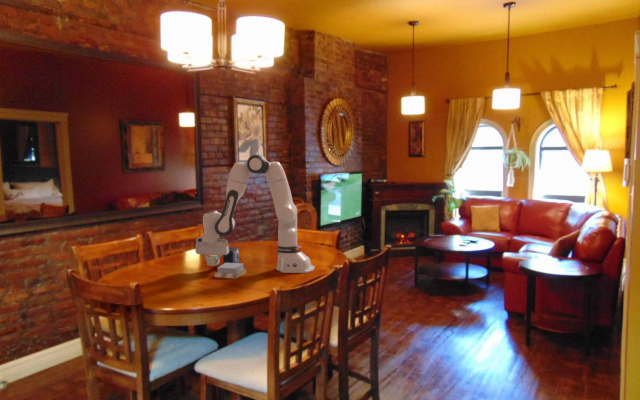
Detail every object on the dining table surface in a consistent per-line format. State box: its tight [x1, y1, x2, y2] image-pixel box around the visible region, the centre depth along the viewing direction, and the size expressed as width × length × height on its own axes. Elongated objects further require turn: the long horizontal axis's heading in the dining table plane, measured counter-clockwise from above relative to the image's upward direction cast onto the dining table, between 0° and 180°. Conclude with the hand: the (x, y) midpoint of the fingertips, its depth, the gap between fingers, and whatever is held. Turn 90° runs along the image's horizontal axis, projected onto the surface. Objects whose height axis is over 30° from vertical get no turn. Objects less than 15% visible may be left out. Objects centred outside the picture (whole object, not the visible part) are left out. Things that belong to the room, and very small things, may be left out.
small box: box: [222, 246, 240, 264], centre depth 279 cm, size 11×6×10 cm, turn 168°
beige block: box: [206, 254, 220, 267], centre depth 267 cm, size 5×5×5 cm
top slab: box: [216, 262, 244, 274], centre depth 258 cm, size 11×11×3 cm
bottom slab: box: [213, 267, 247, 279], centre depth 259 cm, size 13×13×3 cm
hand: (212, 261), depth 267 cm, fingers closed on beige block, 5 cm apart
